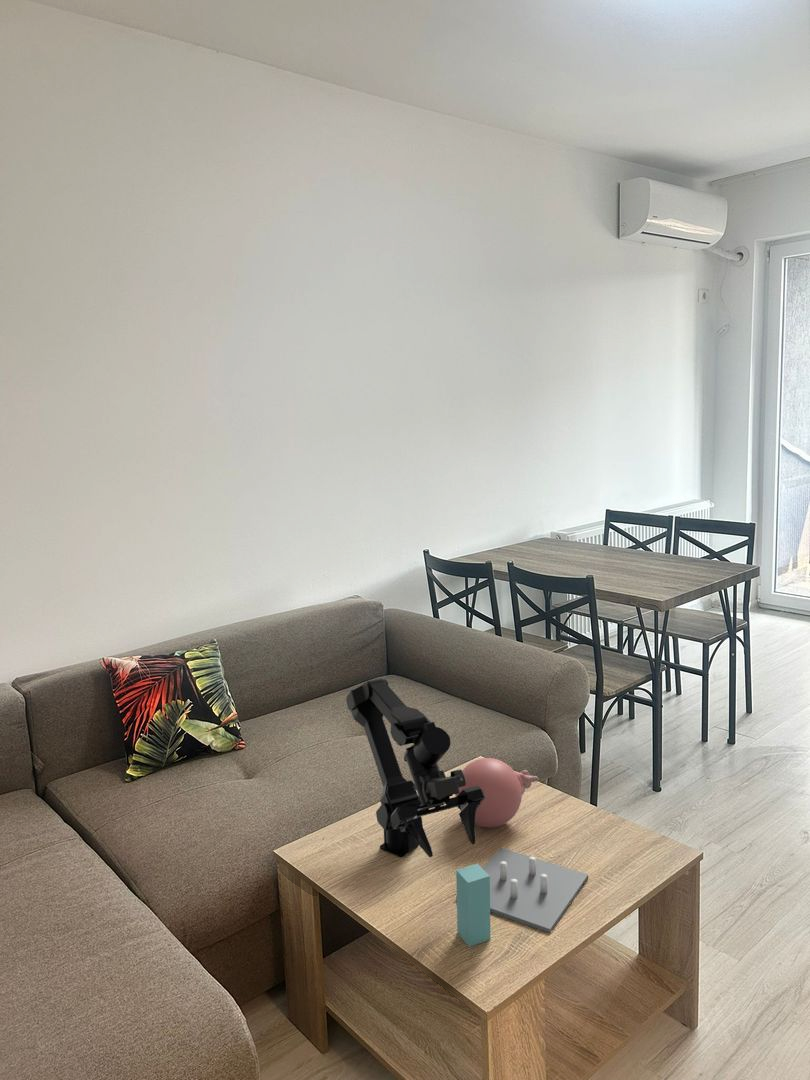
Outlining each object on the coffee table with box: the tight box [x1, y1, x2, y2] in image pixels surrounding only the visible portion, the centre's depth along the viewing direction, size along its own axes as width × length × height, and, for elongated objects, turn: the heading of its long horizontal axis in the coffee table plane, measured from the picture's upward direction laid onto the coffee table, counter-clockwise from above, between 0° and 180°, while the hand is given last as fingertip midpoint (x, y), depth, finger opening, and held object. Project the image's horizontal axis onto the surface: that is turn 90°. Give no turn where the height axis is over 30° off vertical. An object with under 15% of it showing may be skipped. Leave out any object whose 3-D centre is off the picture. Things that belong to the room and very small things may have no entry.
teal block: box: [455, 863, 491, 948], centre depth 153 cm, size 4×4×13 cm
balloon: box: [454, 757, 540, 828], centre depth 192 cm, size 15×20×15 cm
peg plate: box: [455, 847, 589, 934], centre depth 168 cm, size 20×20×4 cm
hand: (452, 850), depth 159 cm, fingers open, 9 cm apart
